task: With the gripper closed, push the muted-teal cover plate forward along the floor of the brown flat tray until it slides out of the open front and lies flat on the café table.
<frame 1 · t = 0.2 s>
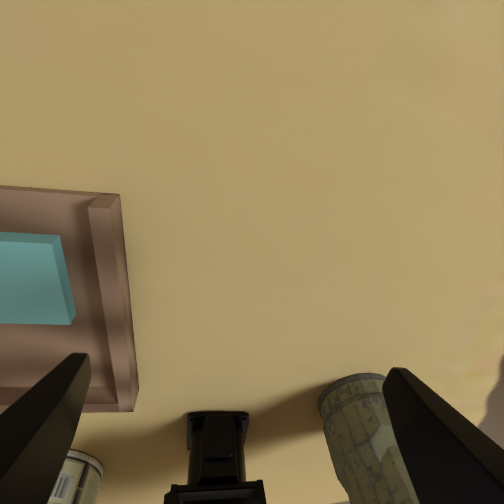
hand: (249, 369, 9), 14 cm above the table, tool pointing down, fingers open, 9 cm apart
coffee can: (59, 468, 37), on the table
brown flat tray: (24, 307, 25), on the table
cover plate: (8, 275, 23), point 1 cm above the table, touching brown flat tray
thermos: (355, 397, 35), on the table
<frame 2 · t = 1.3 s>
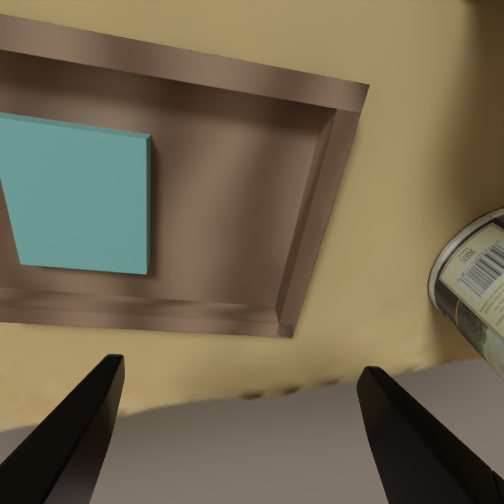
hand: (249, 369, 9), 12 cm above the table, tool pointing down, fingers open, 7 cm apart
coffee can: (493, 264, 24), on the table
brown flat tray: (152, 202, 19), on the table
cover plate: (86, 198, 18), point 1 cm above the table, touching brown flat tray
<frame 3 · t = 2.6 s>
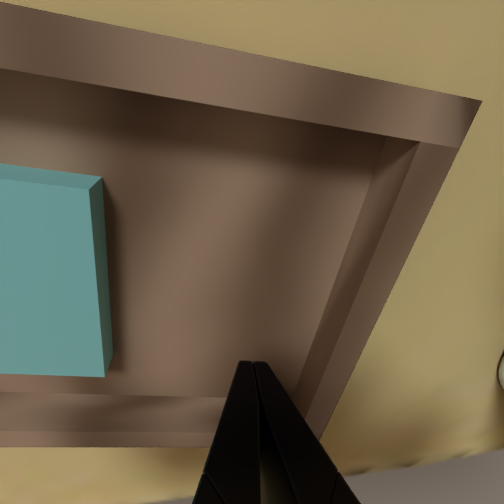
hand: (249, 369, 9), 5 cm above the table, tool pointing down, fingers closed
brown flat tray: (113, 270, 13), on the table
cover plate: (5, 271, 11), point 1 cm above the table, touching brown flat tray
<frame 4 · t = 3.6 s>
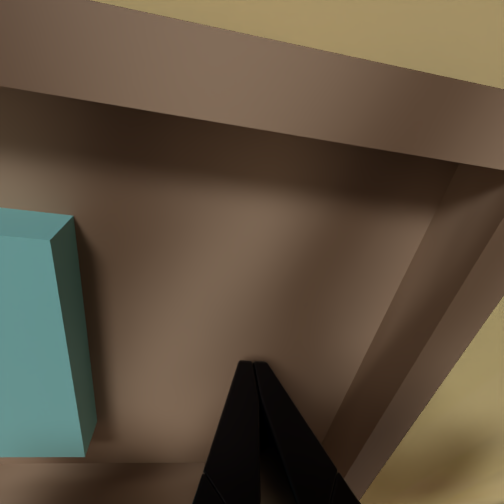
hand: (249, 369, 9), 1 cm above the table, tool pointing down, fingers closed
brown flat tray: (94, 325, 10), on the table
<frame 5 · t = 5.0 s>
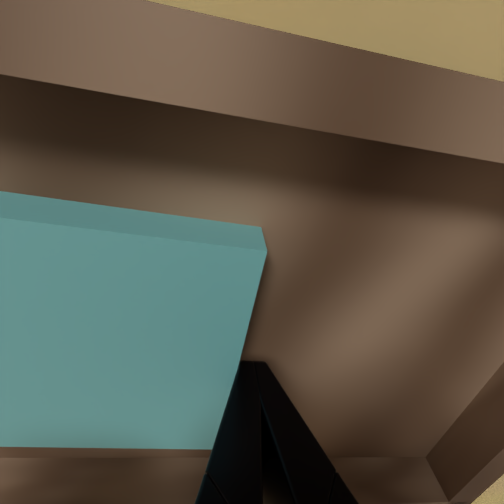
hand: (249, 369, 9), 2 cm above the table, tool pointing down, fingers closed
brown flat tray: (273, 331, 11), on the table
cover plate: (118, 331, 9), point 1 cm above the table, touching brown flat tray, gripper
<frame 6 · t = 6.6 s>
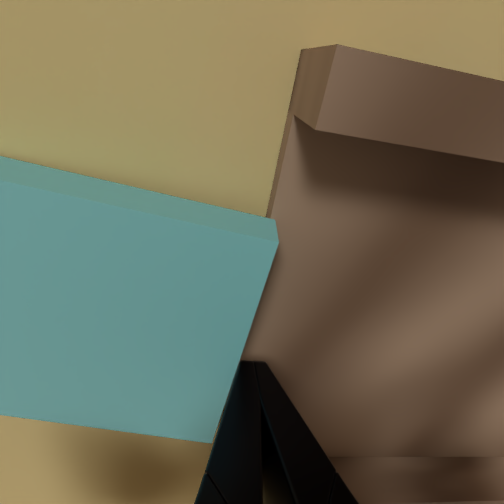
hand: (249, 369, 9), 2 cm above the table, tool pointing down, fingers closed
brown flat tray: (498, 345, 12), on the table
cover plate: (124, 312, 10), on the table, touching brown flat tray, gripper
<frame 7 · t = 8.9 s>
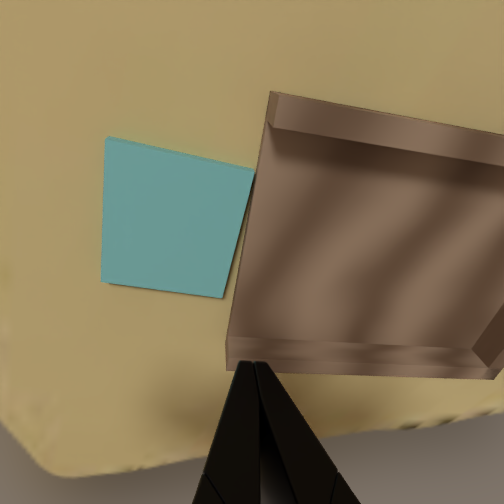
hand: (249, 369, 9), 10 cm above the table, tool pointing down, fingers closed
brown flat tray: (398, 259, 20), on the table
cover plate: (174, 221, 18), on the table
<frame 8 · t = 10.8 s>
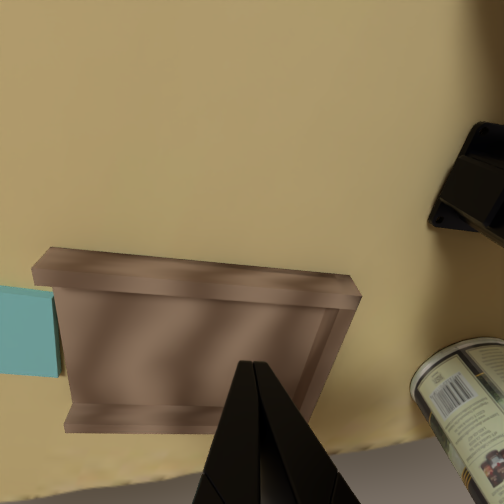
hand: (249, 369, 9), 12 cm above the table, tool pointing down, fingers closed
coffee can: (461, 372, 31), on the table
brown flat tray: (200, 346, 25), on the table
cover plate: (10, 324, 23), on the table
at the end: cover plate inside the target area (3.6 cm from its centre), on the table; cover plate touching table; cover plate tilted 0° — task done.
